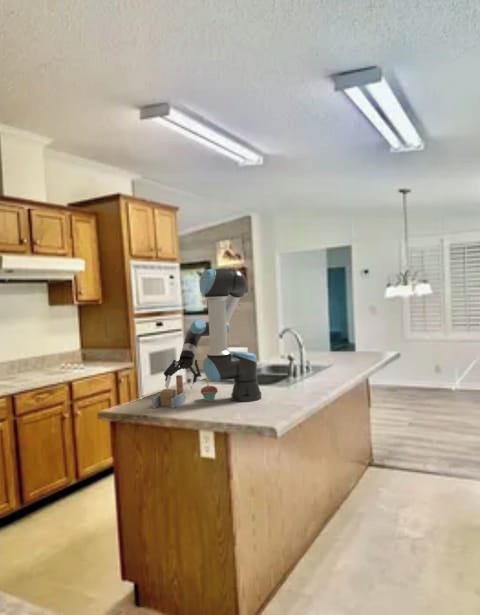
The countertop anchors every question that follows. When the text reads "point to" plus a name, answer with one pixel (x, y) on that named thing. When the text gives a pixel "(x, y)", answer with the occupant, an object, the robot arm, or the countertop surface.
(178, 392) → the tethered block
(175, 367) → the robot arm
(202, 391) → the cupcake
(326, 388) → the countertop surface
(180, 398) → the lane
